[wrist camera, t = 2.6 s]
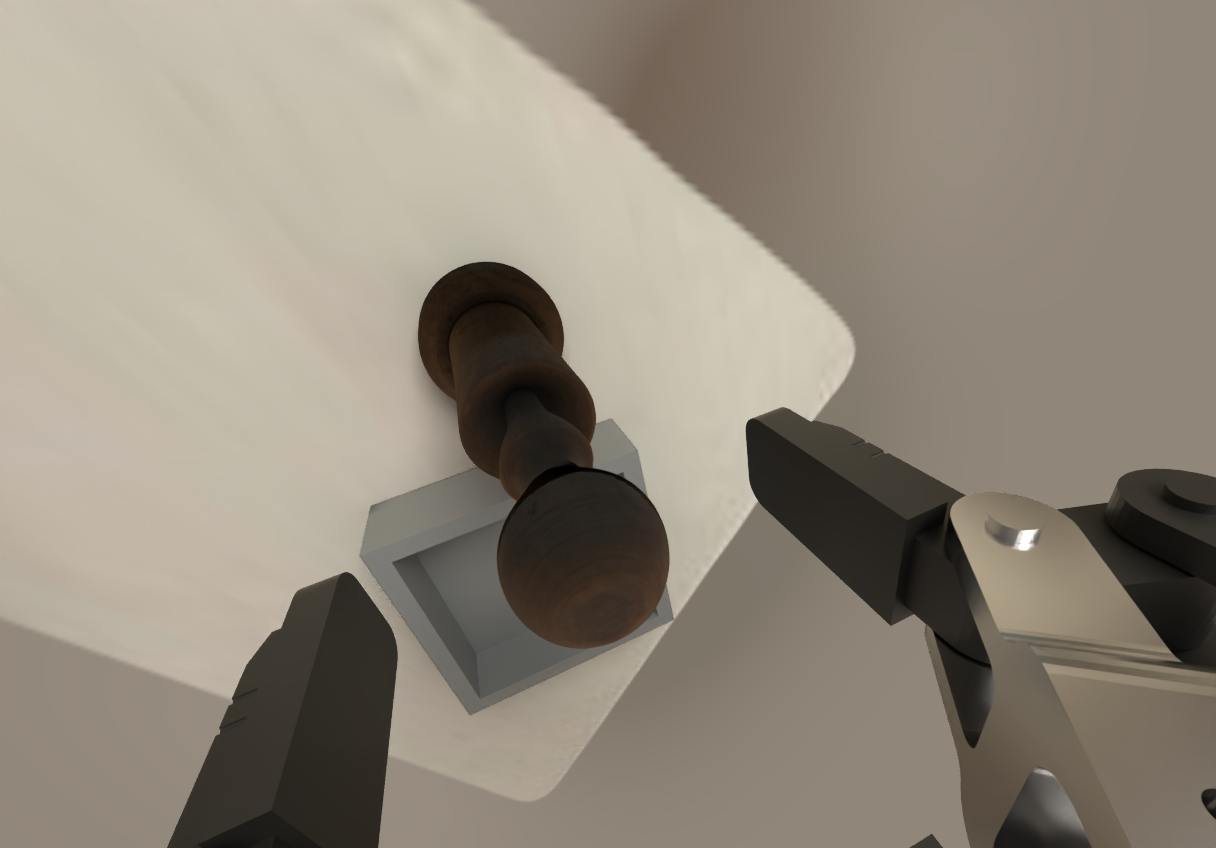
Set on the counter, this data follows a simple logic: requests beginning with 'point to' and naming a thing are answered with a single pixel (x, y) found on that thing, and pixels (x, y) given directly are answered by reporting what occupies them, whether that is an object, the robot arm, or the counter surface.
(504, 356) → the turned wooden knob
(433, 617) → the tray
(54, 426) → the counter surface
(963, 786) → the robot arm
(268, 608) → the counter surface
